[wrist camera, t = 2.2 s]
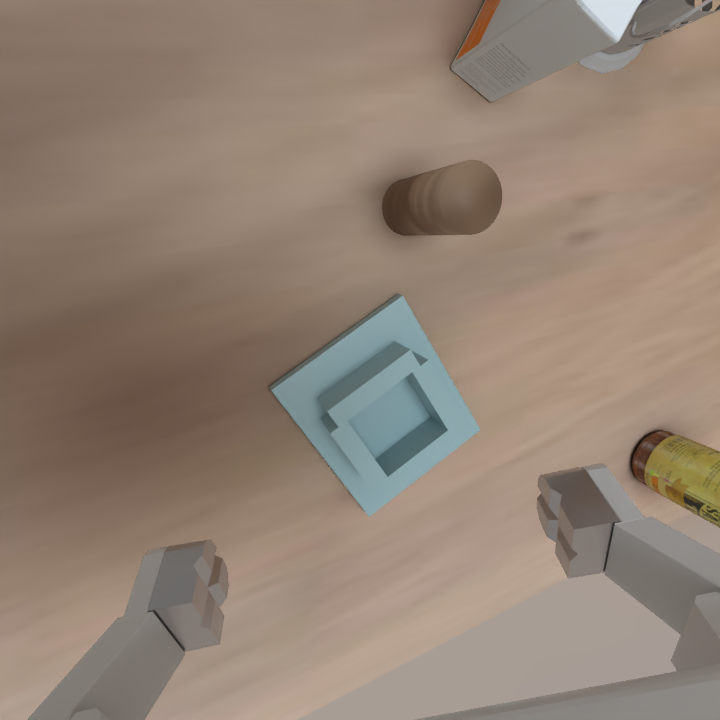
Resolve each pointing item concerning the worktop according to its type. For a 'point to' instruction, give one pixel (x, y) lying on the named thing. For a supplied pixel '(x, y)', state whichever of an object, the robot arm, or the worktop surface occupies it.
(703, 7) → the french press
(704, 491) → the sauce bottle
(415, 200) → the brown cylinder
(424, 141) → the worktop surface
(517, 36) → the skincare box
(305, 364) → the holder
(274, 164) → the worktop surface
